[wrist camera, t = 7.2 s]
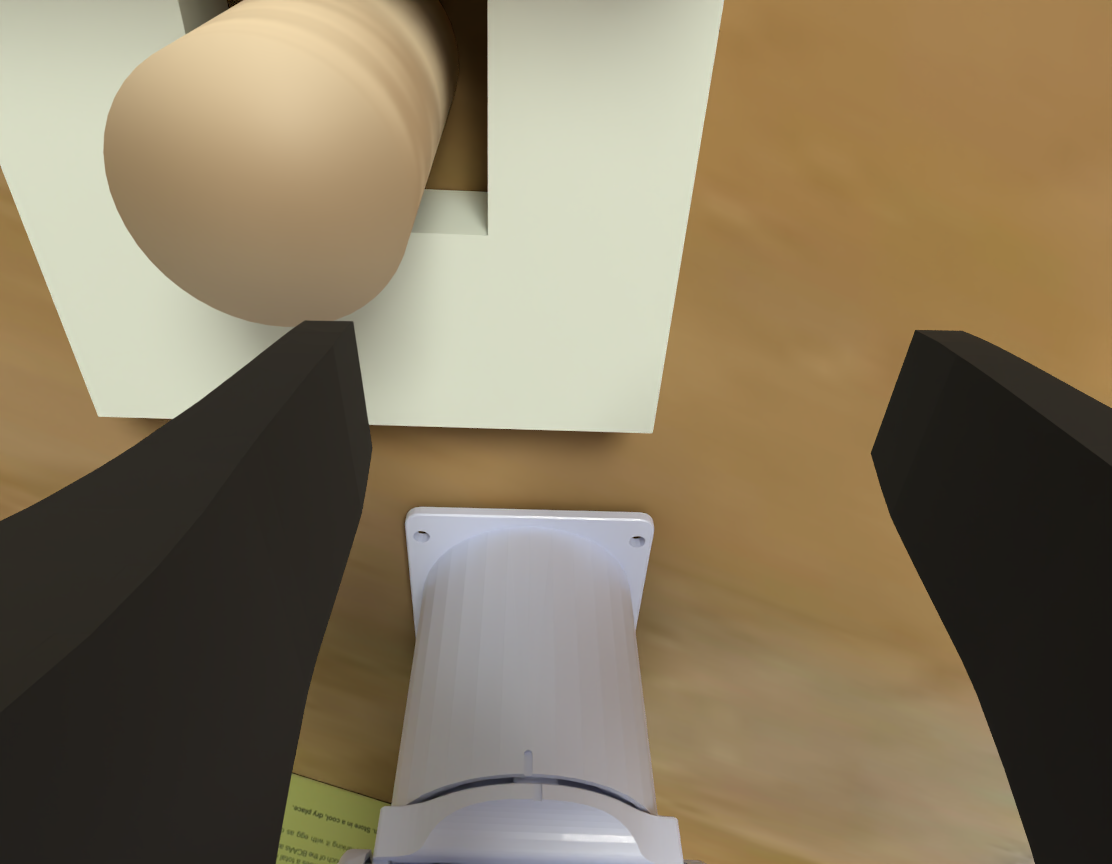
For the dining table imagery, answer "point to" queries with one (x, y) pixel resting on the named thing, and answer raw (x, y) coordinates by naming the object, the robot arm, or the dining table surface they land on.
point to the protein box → (325, 823)
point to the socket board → (438, 232)
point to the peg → (284, 152)
